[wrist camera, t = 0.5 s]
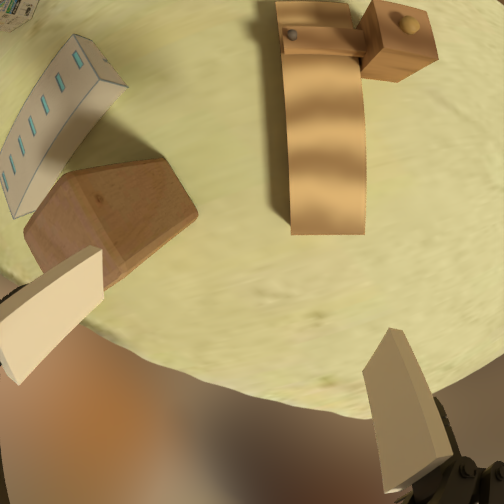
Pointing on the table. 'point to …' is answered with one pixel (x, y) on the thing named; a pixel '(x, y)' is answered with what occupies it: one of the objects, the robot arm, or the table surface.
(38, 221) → the wooden block
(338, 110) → the plank
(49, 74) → the warehouse
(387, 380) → the robot arm
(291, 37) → the wooden box
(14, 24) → the light bulb box
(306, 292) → the table surface
